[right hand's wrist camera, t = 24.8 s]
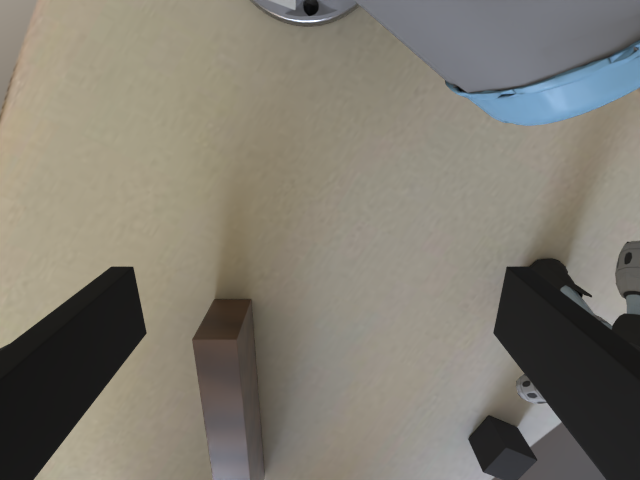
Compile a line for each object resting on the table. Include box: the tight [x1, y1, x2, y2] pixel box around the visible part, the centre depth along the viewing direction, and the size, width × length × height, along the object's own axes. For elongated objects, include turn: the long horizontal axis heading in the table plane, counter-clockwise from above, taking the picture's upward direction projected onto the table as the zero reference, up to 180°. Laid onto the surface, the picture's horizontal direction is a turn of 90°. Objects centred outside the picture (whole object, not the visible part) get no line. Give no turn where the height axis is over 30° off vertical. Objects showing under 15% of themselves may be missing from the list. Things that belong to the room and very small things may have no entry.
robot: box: [516, 241, 640, 403], centre depth 33 cm, size 20×5×20 cm, turn 156°
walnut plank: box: [192, 299, 265, 480], centre depth 45 cm, size 30×4×8 cm, turn 0°
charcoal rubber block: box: [468, 416, 537, 480], centre depth 48 cm, size 5×5×5 cm
